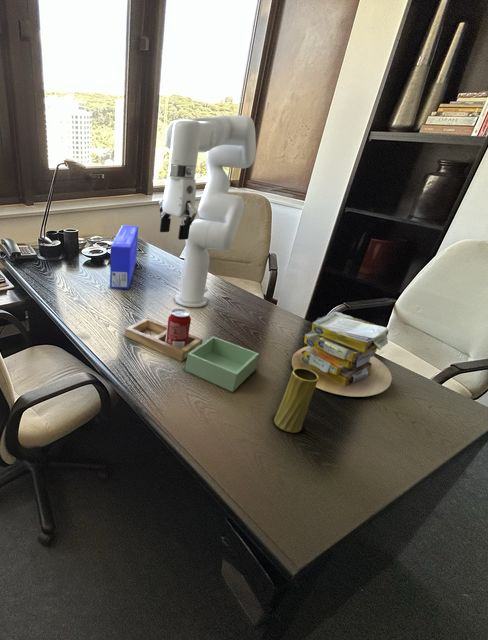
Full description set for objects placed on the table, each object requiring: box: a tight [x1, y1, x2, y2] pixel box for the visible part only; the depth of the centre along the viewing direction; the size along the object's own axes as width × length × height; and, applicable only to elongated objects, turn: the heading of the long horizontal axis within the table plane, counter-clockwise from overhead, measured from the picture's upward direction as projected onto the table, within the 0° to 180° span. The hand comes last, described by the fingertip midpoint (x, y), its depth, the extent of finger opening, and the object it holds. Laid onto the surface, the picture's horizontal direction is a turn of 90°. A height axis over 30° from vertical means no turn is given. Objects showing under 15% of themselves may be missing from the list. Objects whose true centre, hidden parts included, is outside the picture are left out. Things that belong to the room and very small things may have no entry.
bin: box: [184, 335, 260, 393], centre depth 105 cm, size 15×15×6 cm
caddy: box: [124, 317, 204, 362], centre depth 119 cm, size 12×22×3 cm, turn 49°
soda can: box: [165, 308, 192, 349], centre depth 114 cm, size 7×7×12 cm
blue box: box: [109, 224, 139, 290], centre depth 170 cm, size 39×8×18 cm, turn 172°
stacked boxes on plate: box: [291, 311, 393, 398], centre depth 104 cm, size 25×25×17 cm
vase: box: [273, 368, 319, 434], centre depth 84 cm, size 6×6×14 cm
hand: (173, 235), depth 111 cm, fingers open, 9 cm apart
